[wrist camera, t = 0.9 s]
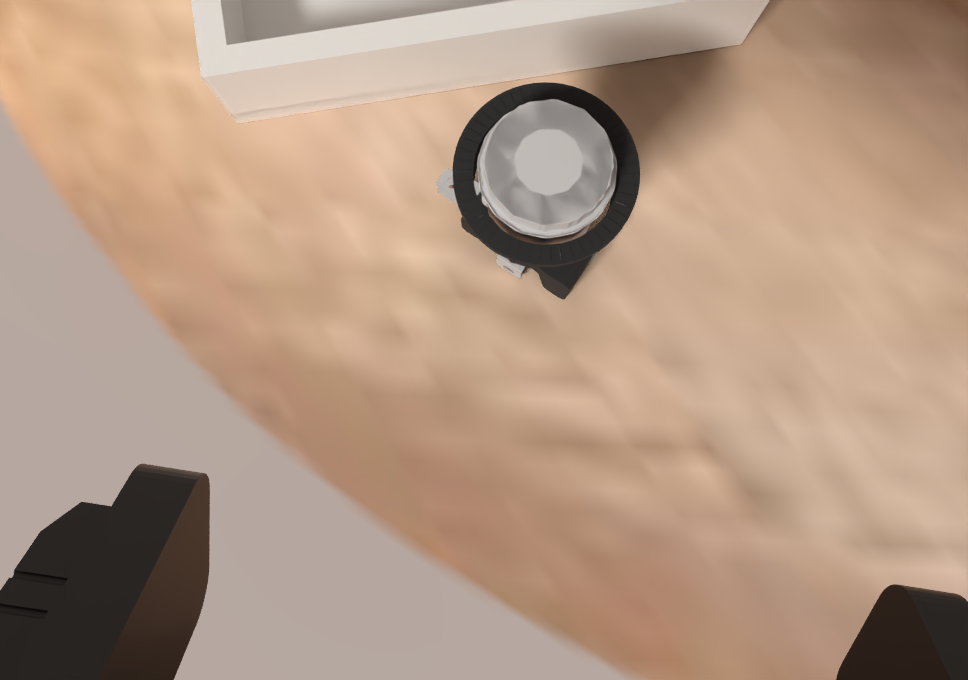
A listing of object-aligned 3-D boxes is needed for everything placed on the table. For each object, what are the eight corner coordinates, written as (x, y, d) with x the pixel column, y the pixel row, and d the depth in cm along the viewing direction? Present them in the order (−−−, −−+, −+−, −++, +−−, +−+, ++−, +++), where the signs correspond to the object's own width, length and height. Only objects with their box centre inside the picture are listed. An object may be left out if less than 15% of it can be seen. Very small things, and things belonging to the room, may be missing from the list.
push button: (405, 241, 34) (373, 161, 24) (482, 129, 35) (481, 7, 25) (550, 336, 34) (577, 295, 24) (625, 222, 34) (683, 135, 24)
